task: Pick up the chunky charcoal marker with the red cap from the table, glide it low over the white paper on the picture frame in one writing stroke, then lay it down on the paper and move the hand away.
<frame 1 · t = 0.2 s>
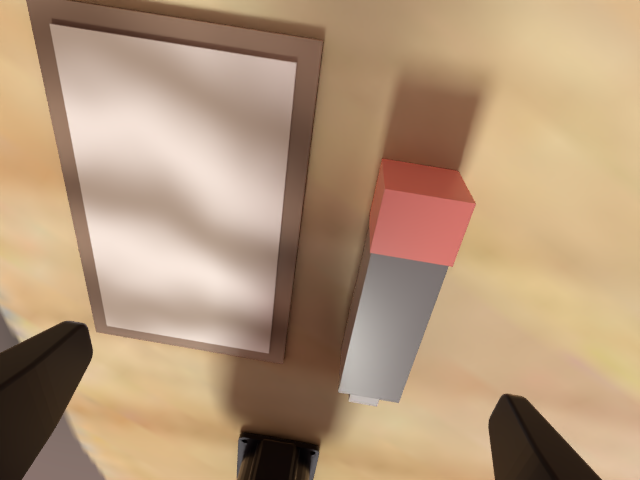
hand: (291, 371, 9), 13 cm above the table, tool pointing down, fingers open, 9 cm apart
marker: (388, 280, 24), on the table
picture frame: (185, 217, 23), on the table
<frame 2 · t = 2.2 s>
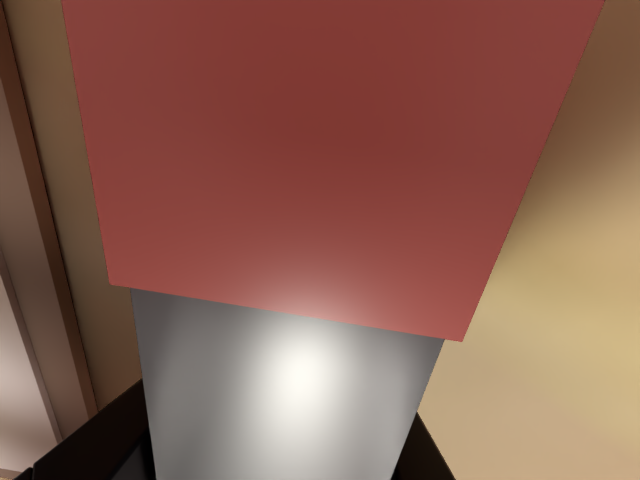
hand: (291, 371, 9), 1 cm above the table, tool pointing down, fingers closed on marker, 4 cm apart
marker: (298, 337, 10), on the table, touching gripper
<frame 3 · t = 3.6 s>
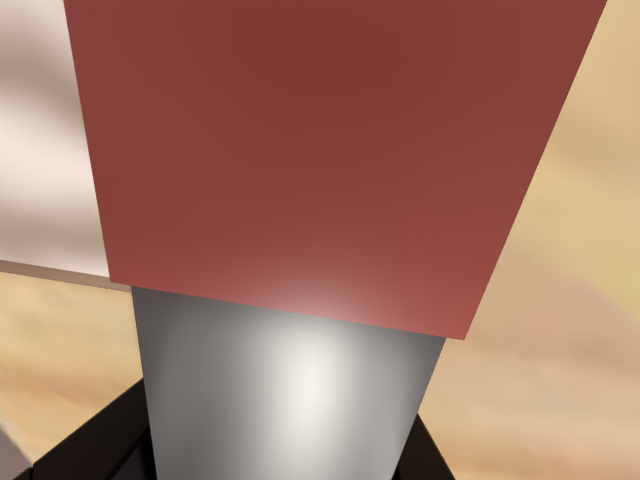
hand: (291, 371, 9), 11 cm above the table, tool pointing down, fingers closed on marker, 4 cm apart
marker: (298, 336, 10), point 10 cm above the table, touching gripper
picture frame: (70, 96, 17), on the table
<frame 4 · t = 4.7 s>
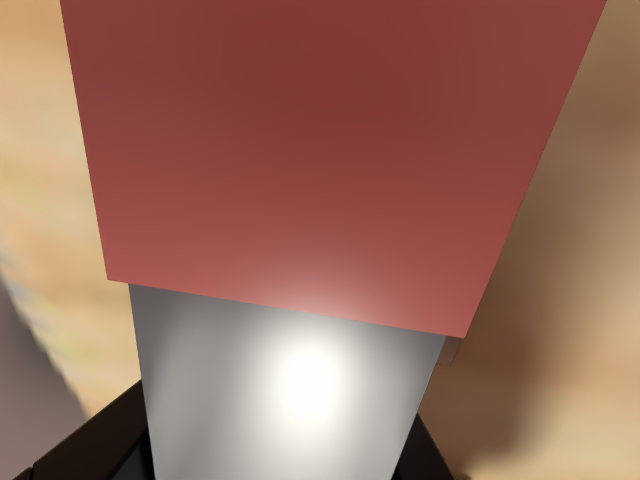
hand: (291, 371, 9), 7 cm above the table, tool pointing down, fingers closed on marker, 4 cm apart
marker: (298, 335, 10), point 6 cm above the table, touching gripper
picture frame: (337, 105, 13), on the table
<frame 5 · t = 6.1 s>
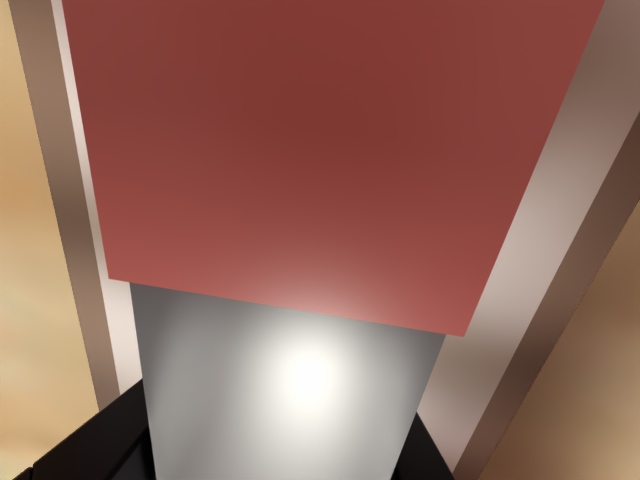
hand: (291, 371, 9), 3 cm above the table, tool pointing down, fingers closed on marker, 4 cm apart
marker: (298, 334, 10), point 2 cm above the table, touching gripper
picture frame: (311, 283, 11), on the table
when the fingers open (2 cm above the table, at t = 7.3 s): marker stays where it is, resting on picture frame.
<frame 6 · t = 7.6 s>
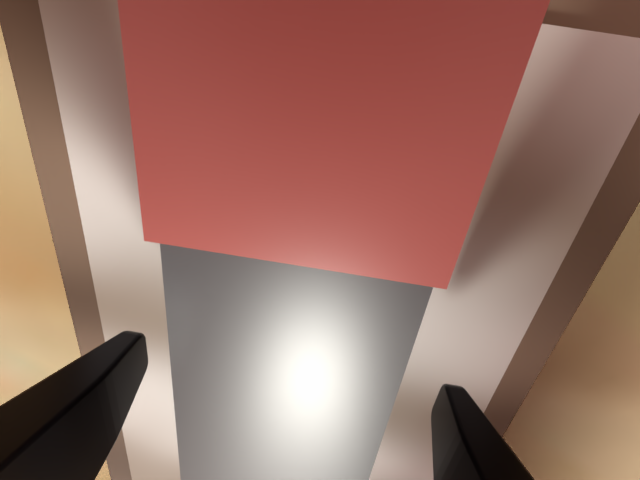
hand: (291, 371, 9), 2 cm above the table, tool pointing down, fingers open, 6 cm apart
marker: (302, 312, 10), point 1 cm above the table, touching picture frame
picture frame: (298, 351, 12), on the table
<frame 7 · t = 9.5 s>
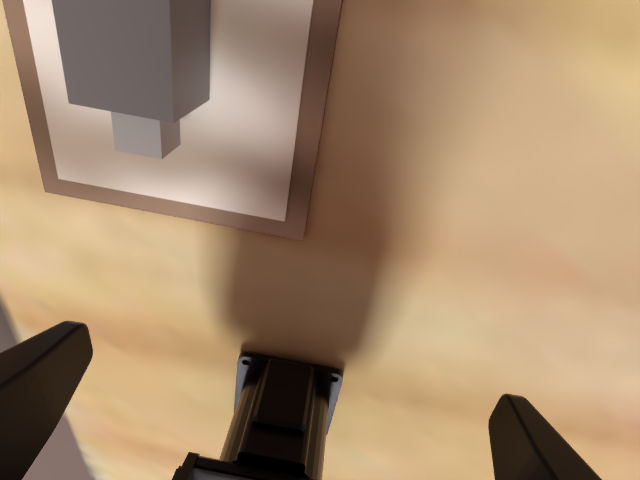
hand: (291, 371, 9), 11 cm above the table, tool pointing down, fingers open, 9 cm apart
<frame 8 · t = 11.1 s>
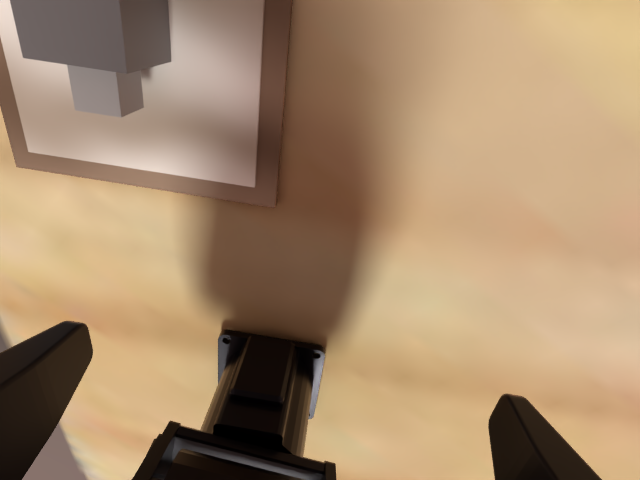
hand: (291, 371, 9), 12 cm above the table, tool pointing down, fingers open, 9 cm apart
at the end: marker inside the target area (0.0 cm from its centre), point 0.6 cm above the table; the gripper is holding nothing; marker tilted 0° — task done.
